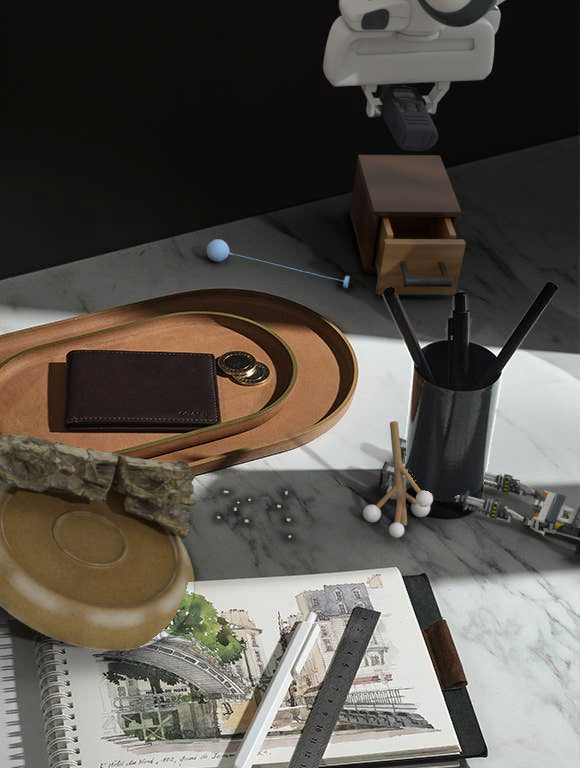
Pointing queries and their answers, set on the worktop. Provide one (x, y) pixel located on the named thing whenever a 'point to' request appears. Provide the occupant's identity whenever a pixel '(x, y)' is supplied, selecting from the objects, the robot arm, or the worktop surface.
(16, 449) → the fossil
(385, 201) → the cabinet
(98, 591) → the plant saucer
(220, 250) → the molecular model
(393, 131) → the two-way radio
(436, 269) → the drawer
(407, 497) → the cotton branch
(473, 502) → the toy
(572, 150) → the worktop surface
